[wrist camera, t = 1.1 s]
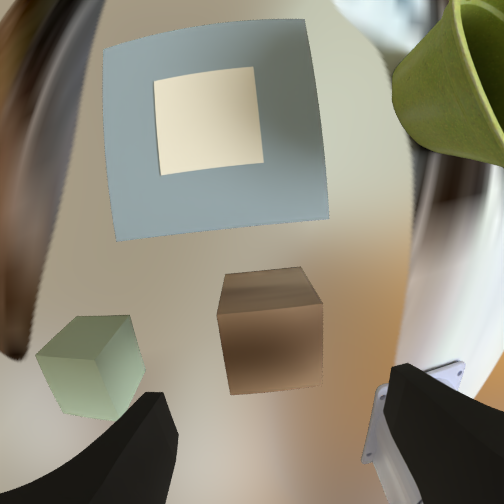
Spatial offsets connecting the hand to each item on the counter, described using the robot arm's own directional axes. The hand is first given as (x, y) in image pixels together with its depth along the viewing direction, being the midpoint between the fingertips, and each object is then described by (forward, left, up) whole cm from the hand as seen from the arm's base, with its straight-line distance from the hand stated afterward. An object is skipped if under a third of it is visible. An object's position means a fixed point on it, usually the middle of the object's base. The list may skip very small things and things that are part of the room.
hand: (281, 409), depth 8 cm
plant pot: (+11, -11, -8) cm, 18 cm away
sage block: (-2, +10, -8) cm, 13 cm away
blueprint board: (+10, +2, -8) cm, 13 cm away
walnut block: (0, 0, -8) cm, 8 cm away
